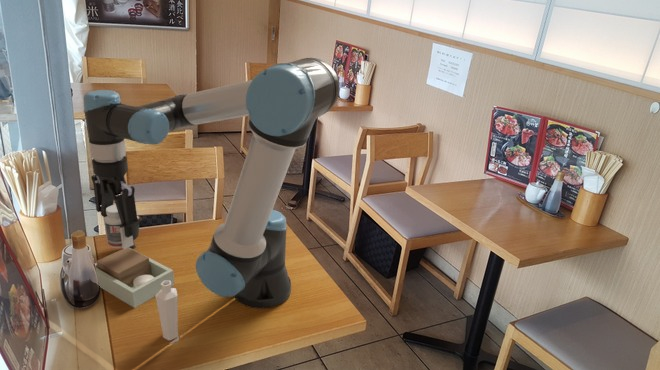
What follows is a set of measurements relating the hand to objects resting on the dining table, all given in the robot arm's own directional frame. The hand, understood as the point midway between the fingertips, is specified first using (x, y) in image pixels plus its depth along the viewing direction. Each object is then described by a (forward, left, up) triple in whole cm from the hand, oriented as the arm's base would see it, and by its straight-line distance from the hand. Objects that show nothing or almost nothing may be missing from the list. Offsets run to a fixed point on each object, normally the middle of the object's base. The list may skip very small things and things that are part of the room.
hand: (120, 242), depth 118 cm
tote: (-3, 0, -12) cm, 13 cm away
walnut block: (0, 0, -11) cm, 11 cm away
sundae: (+12, -11, -12) cm, 20 cm away
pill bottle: (0, 0, 0) cm, 0 cm away
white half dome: (-8, 0, -11) cm, 14 cm away
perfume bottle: (-26, +7, -12) cm, 30 cm away
